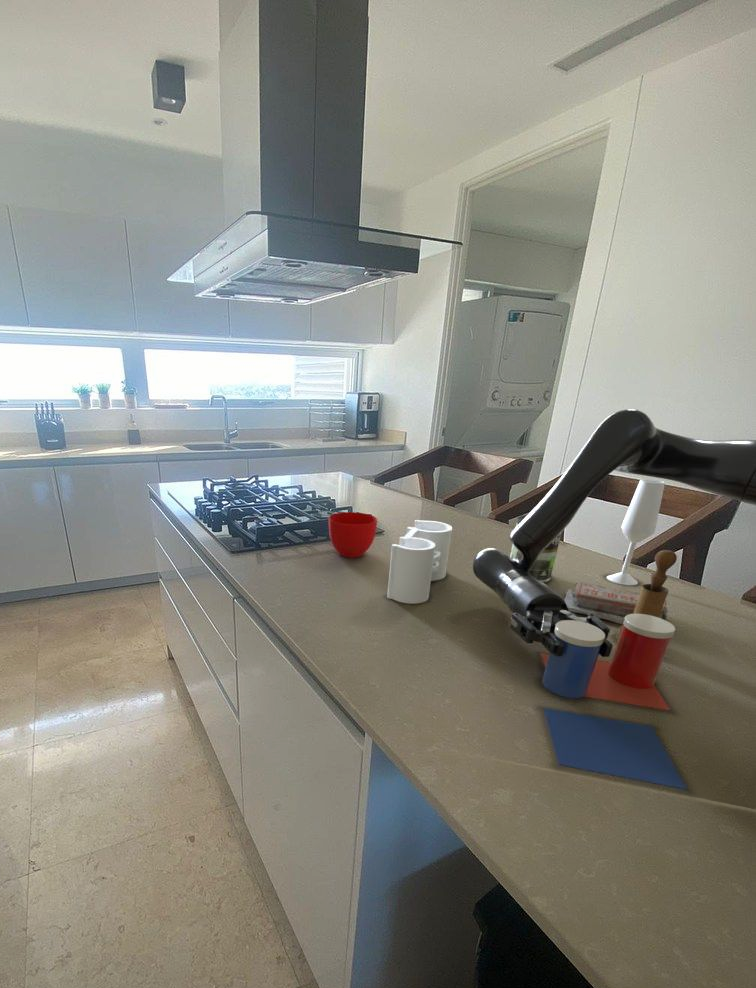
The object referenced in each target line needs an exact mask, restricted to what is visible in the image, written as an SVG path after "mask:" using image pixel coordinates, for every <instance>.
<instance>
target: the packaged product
mask: <svg viewBox="0 0 756 988" xmlns="http://www.w3.org/2000/svg"><path fill="white" fill-rule="evenodd" d="M639 595H640V592H634V591H628V590H625V589H624V590H623V589H620V588H619V589H618V588H613V587H609V586H603V585H599V584H594V583H593V584H592V583H588V582H580V581H579V582H576V583H575V587H574V589H571V588H568V589H567V592H566V594H565V598H564V599H563V600H564V601H565V603H566V605H567V607H568V610H569V612H571V613H574V614H580V615H585V616H587V614H588V613H592V614H594V615H596V616H597V617H598V618H599V619H602V620H606V621H610V622H613V623H616V624H619V625H623V621H624V618H625V616H626V615H628V614H633V613H634V610H635V607H636V604H637V601H638V598H639ZM668 613H669V610H668V607H667V599H665V602H664V605H663V608H662V610H661V613H660V616H659V618H661V619H663V620H666V621H667V617H668Z"/></svg>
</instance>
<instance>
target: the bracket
mask: <svg viewBox="0 0 756 988" xmlns="http://www.w3.org/2000/svg"><path fill="white" fill-rule="evenodd" d="M452 535H453V527H452V525H450V524H448V523H445V522H443V521H442V522H441V521H437V520H421V519H415V520H414V526H407V529H406V534H405V535H404V536H399V543H397V544H395V543H391V551H390V562H389V571H388V573H389V574H388V583H387V595H386V598H387V599H389V600H390V599H391V600H394V601H396V602H399V603H404V604H411V605H413V604H415V605H416V604H421V603H425V602H427V601H428V600H429V598H430V591H431V583H432V582H435V581H440V580H442V579H445V577H446V575H447V568H448V561H449V554H450V547H451V541H452V540H451V539H452Z"/></svg>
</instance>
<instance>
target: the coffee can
mask: <svg viewBox="0 0 756 988" xmlns="http://www.w3.org/2000/svg"><path fill="white" fill-rule="evenodd" d="M527 515H528V514H524V515H519V516H517V517H516V525H515V528H516V527H517V525H518V524H519V523H520V522H521V521H522V520H523V519H524V518H525V517H526V516H527ZM562 532H563V531H562ZM562 532H561V534H560V535H559V536H558V537H556V539H555V540H554V541H553V542H551V543H550V544H549V545H548V546H547V547H546V548H545V549H544V550H543V551H542V552H541V554H540V555H539V557H538V558H537V560H536V562H535V563H534V565H533V566H532V568H531V570H530V571H529V573H530V574H531V575H532V576H533V577H535V578H536V579H537V580H539V581H541V582H543V583H544V584H545V583H548V582H549V581H551V579H552V573H553V570H554V565H555V563H556V557H557V553H558V550H559V544H560V541H561V537H562V534H563V533H562ZM517 551H518V549H517V548H516V547H515V546H514V545H513V544H512V545H511V551H510V556H509V557H510V558H512V559H514V558H515V556H516V554H517Z"/></svg>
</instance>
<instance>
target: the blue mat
mask: <svg viewBox="0 0 756 988" xmlns="http://www.w3.org/2000/svg"><path fill="white" fill-rule="evenodd" d="M543 712H544V715H545V720H546V723H547V726H548V730H549V734H550V738H551V741H552V745H553V749H554V752H555V756H556V761H557V763H558V766H562V767H567V768H573V769H578V770H584V771H589V772H594V773H598V774H604V775H609V776H615V777H618V778H619V777H620V778H625V779H631V780H635V781H639V782H640V781H641V782H645V783H651V784H655V785H661V786H666V787H671V788H677V789H682V790H689V788H688V787H687V786H686V783H685V782H684V780H683V778H682V776H681V775H680V773H679V771H678V770H677V768H676V766H675V764H674V762H673V761H672V759H671V757H670V755H669V754H668V751H666V748H665V747H664V745H663V743H662V742H661V739H660V738H659V736H658V735H657V733H656V731H655V729H654V727H653V726H652V725H648V724H642V723H634V722H629V721H628V722H627V721H623V720H616V719H610V718H606V717H599V716H593V715H587V714H581V713H575V712H571V711H563V710H559V709H558V710H557V709H552V708H545V707H543Z"/></svg>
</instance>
